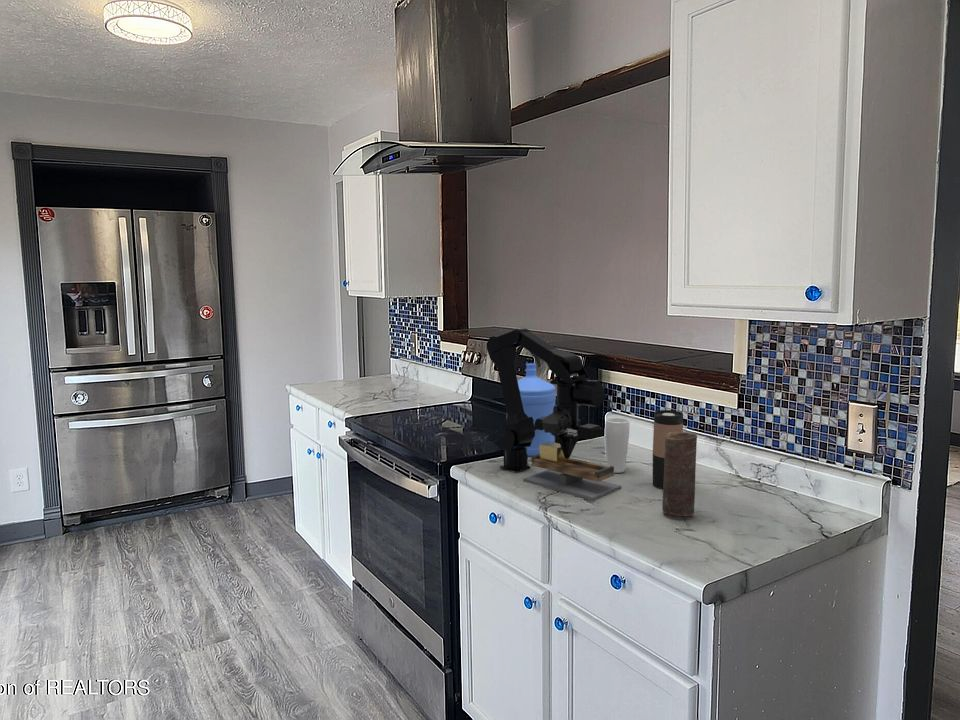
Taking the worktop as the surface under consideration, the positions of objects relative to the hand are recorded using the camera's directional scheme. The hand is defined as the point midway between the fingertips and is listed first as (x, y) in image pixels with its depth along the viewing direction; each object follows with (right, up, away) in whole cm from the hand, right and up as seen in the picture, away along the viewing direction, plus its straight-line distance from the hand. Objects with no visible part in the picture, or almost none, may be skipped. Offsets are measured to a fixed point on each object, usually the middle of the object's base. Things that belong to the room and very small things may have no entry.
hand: (567, 458), depth 188 cm
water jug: (-7, -3, +34) cm, 35 cm away
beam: (+1, -3, -1) cm, 3 cm away
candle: (+24, -11, -23) cm, 34 cm away
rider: (-3, -2, +4) cm, 5 cm away
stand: (+1, -7, 0) cm, 7 cm away
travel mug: (+27, -7, -1) cm, 28 cm away
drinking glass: (+16, -6, +12) cm, 21 cm away
